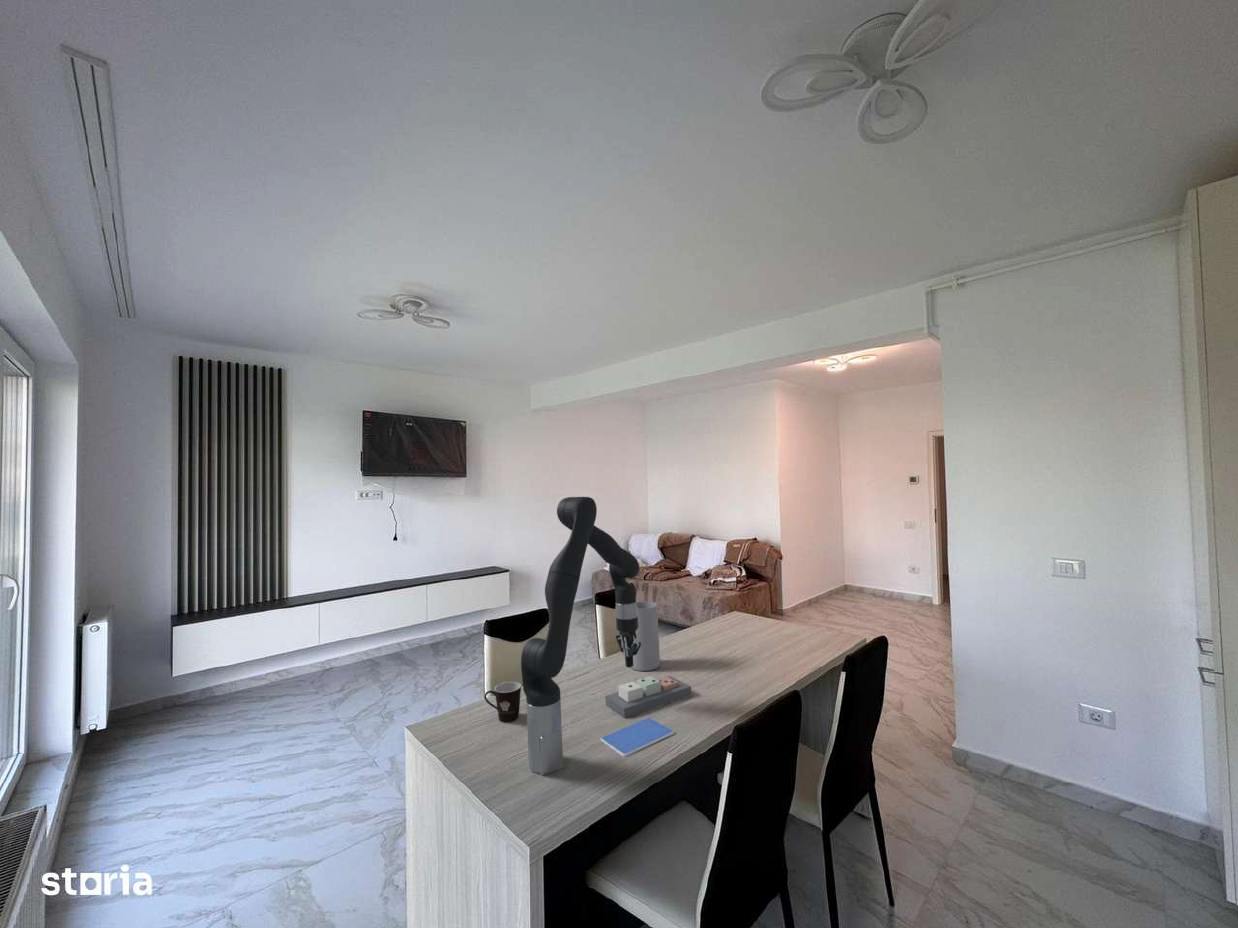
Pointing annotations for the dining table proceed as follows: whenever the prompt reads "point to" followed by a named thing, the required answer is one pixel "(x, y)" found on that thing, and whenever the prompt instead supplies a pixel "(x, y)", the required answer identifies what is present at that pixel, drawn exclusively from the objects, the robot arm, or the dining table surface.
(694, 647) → the dining table surface
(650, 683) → the key two pips
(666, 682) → the key three pips
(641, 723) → the blue flat rectangular panel
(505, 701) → the coffee mug
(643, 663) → the cylinder vase
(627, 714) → the keypad board
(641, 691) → the key one pip
